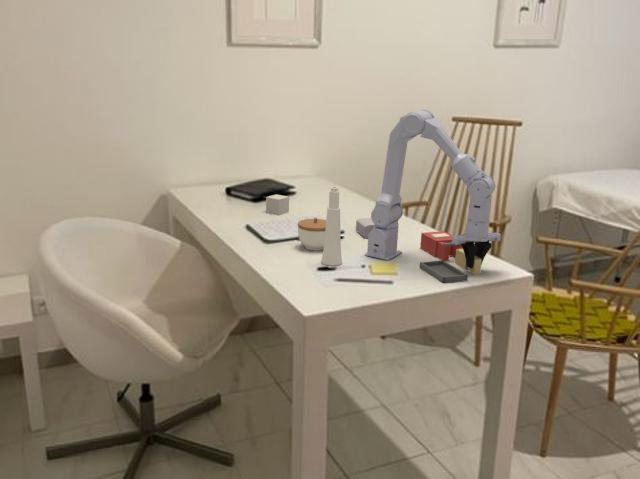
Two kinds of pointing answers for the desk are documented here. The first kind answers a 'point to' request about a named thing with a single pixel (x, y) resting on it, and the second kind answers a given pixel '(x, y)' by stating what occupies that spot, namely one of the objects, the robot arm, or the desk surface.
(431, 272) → the ticket tray
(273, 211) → the light gray cube
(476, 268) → the wooden blocks
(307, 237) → the lidded jar
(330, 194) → the cosmetic bottle
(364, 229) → the charger
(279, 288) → the desk surface
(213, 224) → the desk surface
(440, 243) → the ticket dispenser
